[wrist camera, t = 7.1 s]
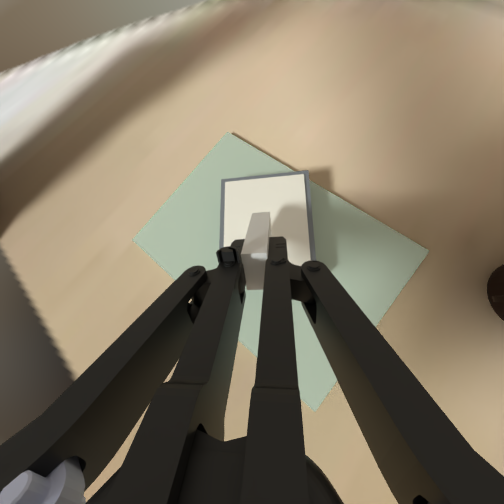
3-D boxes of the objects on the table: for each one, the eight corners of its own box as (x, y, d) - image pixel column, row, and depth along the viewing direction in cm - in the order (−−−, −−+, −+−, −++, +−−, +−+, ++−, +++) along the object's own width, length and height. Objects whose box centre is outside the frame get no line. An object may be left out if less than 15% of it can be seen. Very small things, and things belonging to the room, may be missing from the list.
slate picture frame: (318, 280, 18) (308, 169, 20) (217, 283, 19) (220, 178, 22) (314, 283, 20) (305, 184, 23) (225, 285, 22) (227, 191, 24)
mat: (135, 241, 25) (132, 239, 25) (228, 135, 27) (227, 131, 26) (313, 408, 18) (314, 412, 18) (425, 252, 20) (429, 250, 19)
